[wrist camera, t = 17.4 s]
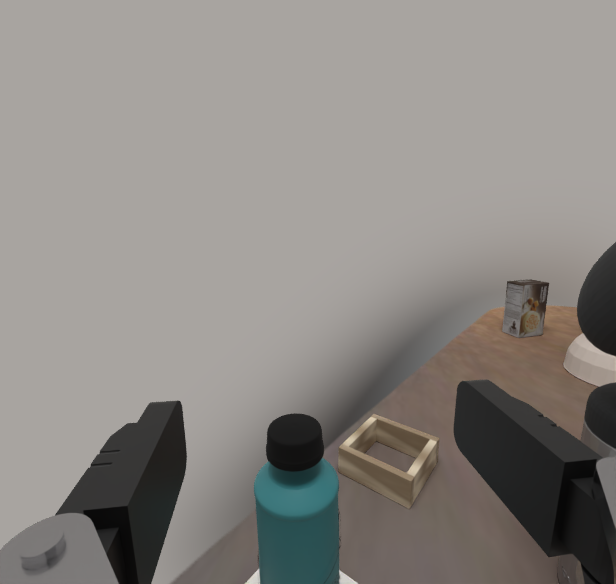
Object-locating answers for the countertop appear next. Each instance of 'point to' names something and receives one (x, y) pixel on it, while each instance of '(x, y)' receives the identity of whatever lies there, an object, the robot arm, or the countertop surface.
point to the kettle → (590, 363)
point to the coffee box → (525, 308)
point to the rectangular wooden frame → (381, 474)
